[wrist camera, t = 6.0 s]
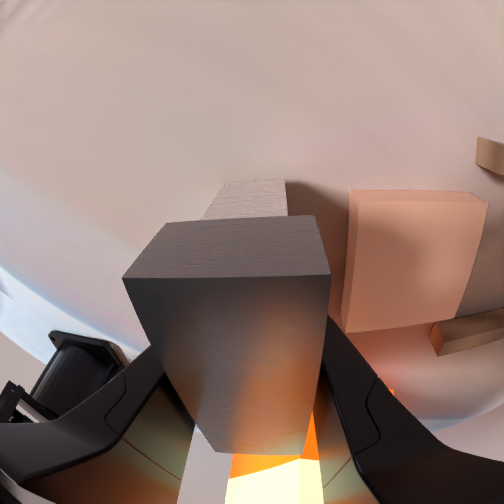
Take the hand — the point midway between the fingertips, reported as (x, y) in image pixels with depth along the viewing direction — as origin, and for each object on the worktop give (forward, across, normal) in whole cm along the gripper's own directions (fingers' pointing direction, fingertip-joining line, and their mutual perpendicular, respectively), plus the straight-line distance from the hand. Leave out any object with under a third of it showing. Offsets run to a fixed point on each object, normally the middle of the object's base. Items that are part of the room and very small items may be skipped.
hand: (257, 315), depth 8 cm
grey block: (+3, 0, 0) cm, 3 cm away
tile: (+4, -6, 0) cm, 7 cm away
